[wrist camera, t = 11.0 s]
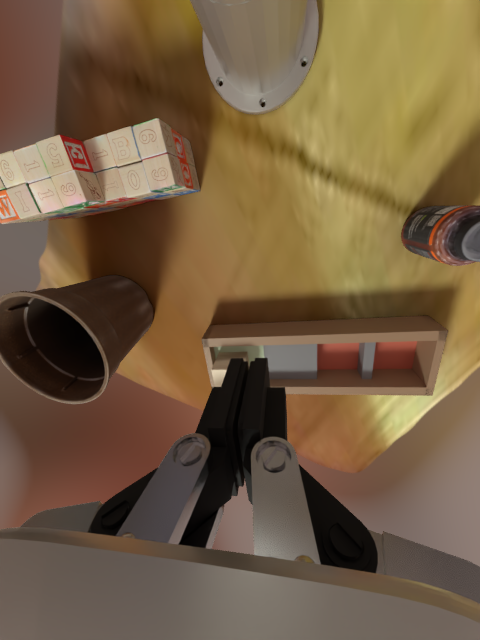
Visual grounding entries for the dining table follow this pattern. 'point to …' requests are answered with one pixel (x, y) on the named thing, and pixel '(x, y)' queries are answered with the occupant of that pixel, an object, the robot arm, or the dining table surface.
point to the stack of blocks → (95, 173)
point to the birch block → (225, 365)
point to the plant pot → (72, 335)
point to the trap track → (339, 354)
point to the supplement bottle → (444, 234)
